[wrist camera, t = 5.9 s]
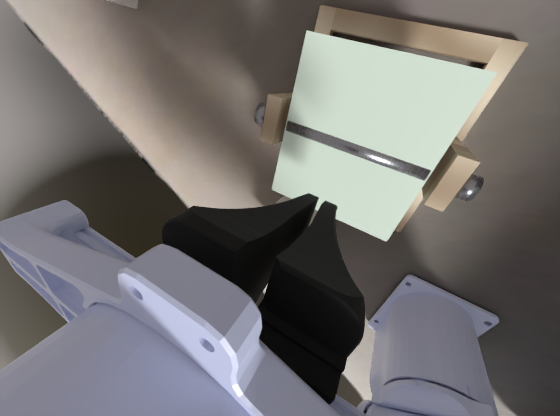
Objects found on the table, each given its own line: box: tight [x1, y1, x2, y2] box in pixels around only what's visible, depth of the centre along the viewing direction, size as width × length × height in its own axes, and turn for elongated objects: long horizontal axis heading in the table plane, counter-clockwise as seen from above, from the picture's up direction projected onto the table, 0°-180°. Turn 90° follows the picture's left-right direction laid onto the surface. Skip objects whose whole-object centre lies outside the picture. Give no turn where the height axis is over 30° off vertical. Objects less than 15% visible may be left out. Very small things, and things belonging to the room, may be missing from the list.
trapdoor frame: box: [254, 5, 528, 233], centre depth 16 cm, size 14×14×7 cm
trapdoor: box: [272, 31, 497, 242], centre depth 14 cm, size 10×9×2 cm
